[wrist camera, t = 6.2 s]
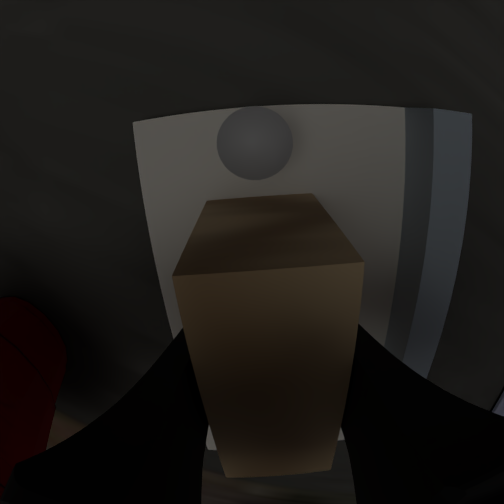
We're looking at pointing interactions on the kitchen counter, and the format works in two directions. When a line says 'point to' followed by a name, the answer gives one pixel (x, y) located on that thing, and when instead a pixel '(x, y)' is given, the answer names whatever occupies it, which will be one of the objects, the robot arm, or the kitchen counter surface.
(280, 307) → the brown tapered block
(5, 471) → the plastic cup
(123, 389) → the kitchen counter surface
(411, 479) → the robot arm
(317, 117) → the board
